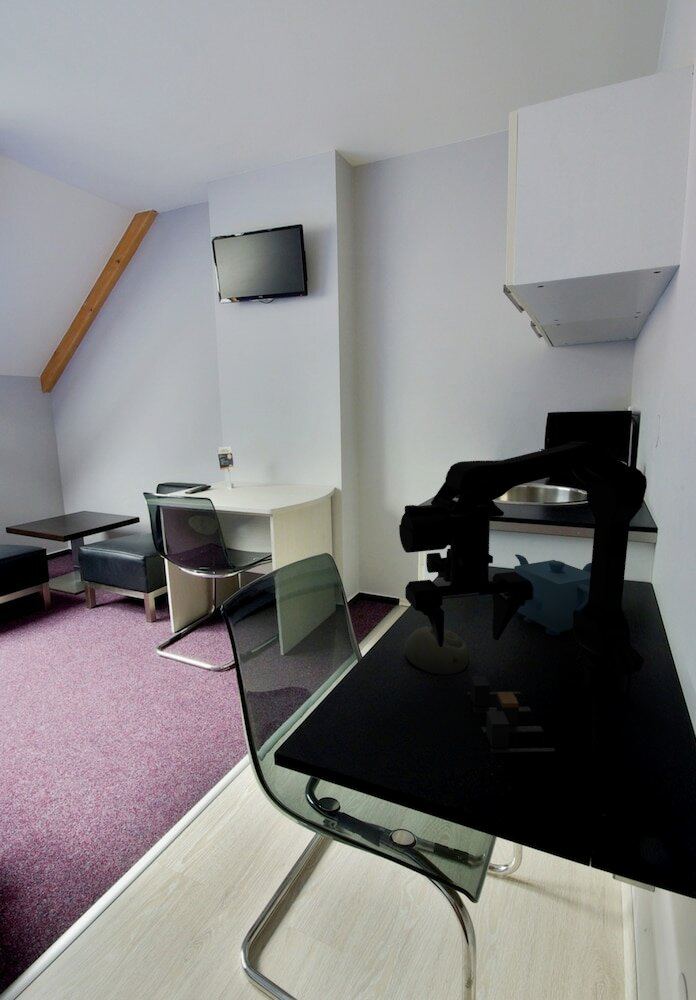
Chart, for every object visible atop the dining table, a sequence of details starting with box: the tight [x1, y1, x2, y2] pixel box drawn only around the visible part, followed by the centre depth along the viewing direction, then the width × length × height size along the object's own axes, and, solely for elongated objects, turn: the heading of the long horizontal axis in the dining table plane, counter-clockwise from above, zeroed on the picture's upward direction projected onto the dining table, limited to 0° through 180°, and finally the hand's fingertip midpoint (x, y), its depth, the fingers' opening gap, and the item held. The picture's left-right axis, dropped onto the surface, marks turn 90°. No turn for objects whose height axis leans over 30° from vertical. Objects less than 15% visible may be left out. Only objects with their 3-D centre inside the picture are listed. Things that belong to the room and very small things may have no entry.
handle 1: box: [469, 675, 491, 708], centre depth 82 cm, size 2×3×4 cm
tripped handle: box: [496, 691, 520, 726], centre depth 77 cm, size 2×3×4 cm
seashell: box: [404, 626, 470, 676], centre depth 96 cm, size 13×8×10 cm
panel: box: [466, 691, 556, 754], centre depth 78 cm, size 18×16×1 cm
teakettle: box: [513, 554, 592, 636], centre depth 114 cm, size 19×19×15 cm
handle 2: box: [485, 711, 510, 749], centre depth 72 cm, size 2×3×4 cm
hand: (468, 642), depth 78 cm, fingers open, 9 cm apart
